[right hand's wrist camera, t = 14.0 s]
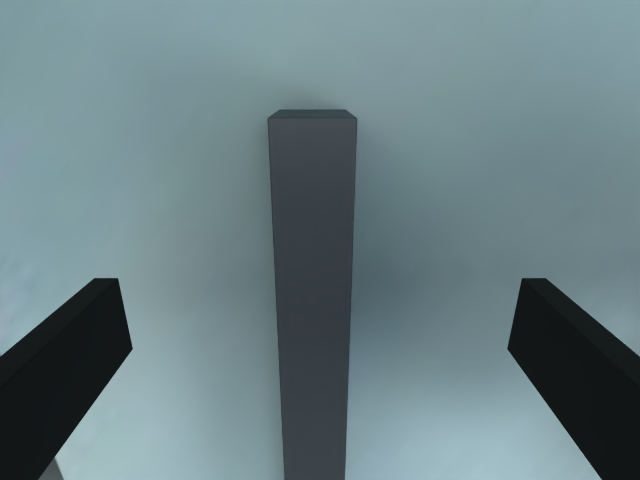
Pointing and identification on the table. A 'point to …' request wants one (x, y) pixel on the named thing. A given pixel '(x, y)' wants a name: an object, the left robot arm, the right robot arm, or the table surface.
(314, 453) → the beam
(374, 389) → the table surface
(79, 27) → the table surface
